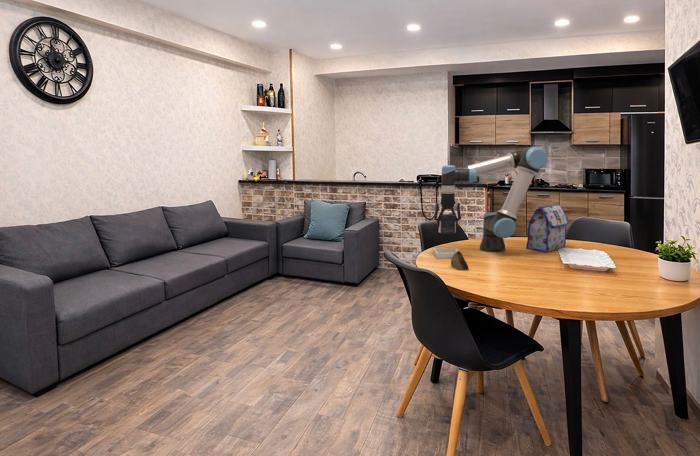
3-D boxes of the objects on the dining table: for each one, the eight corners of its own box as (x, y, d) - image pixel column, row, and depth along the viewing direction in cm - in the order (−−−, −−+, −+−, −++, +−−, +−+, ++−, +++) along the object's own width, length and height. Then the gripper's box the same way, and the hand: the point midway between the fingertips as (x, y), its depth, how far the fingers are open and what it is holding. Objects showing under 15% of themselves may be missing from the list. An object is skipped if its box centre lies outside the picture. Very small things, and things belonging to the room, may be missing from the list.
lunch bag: (550, 254, 265) (553, 208, 261) (524, 249, 278) (526, 206, 273) (569, 248, 279) (572, 205, 274) (543, 244, 292) (546, 203, 287)
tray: (456, 252, 272) (456, 248, 271) (461, 258, 258) (461, 253, 257) (432, 253, 272) (432, 248, 271) (436, 258, 258) (436, 253, 257)
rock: (445, 261, 243) (448, 263, 233) (455, 248, 242) (458, 249, 232) (461, 273, 242) (465, 275, 233) (471, 260, 242) (475, 262, 232)
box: (452, 231, 265) (453, 213, 263) (454, 233, 260) (455, 215, 258) (439, 231, 265) (439, 214, 264) (441, 233, 260) (441, 215, 258)
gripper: (464, 192, 262) (463, 230, 266) (428, 192, 262) (428, 231, 266) (467, 193, 255) (466, 233, 259) (430, 193, 255) (430, 233, 259)
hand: (447, 232), depth 262 cm, fingers closed on box, 8 cm apart
